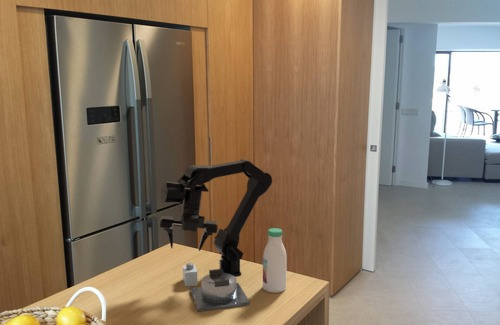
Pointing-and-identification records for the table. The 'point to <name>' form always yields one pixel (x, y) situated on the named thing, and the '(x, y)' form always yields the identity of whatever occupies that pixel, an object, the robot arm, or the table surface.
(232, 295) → the grey stacked fixture
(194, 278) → the pump
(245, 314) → the table surface
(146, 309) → the table surface
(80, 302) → the table surface
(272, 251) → the milk bottle
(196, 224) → the robot arm
